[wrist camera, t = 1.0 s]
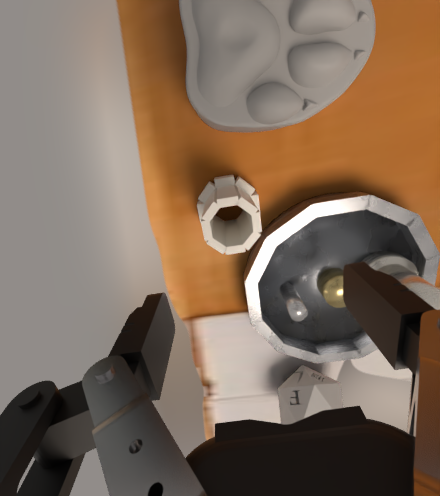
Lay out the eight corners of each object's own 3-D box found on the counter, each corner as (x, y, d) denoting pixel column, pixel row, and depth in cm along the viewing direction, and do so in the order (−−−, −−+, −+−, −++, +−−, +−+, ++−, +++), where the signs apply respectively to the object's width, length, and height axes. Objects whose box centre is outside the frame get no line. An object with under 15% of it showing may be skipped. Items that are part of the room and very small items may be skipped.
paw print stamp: (186, 2, 22) (168, -82, 14) (339, -7, 22) (411, -98, 14) (196, 135, 26) (187, 130, 18) (326, 128, 25) (376, 120, 17)
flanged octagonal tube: (194, 181, 27) (185, 194, 20) (253, 170, 27) (267, 180, 19) (205, 236, 30) (200, 267, 22) (259, 228, 29) (274, 256, 22)
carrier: (233, 209, 28) (239, 236, 20) (427, 177, 27) (522, 192, 19) (254, 352, 36) (265, 416, 28) (405, 332, 35) (466, 393, 26)
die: (334, 352, 37) (319, 388, 29) (361, 414, 36) (353, 472, 27) (282, 360, 42) (256, 394, 33) (305, 416, 40) (283, 466, 32)
